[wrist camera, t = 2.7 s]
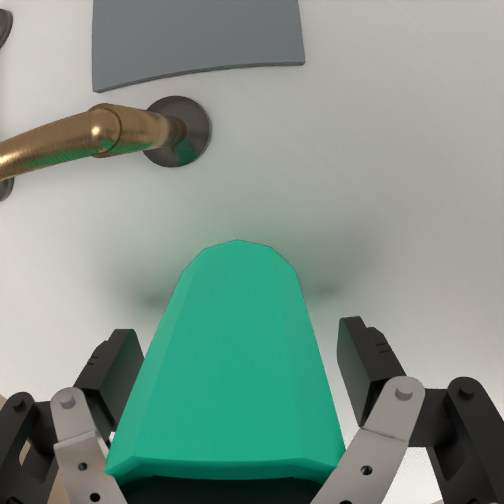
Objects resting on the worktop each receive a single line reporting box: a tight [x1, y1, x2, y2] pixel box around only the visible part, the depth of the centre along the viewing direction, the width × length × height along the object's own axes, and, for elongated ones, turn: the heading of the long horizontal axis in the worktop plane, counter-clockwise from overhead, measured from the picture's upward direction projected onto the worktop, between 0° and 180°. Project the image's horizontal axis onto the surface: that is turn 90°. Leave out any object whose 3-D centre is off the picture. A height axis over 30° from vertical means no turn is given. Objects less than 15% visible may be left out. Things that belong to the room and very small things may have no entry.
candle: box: [104, 240, 346, 487], centre depth 9 cm, size 6×6×12 cm
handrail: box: [0, 9, 211, 201], centre depth 7 cm, size 14×12×8 cm
